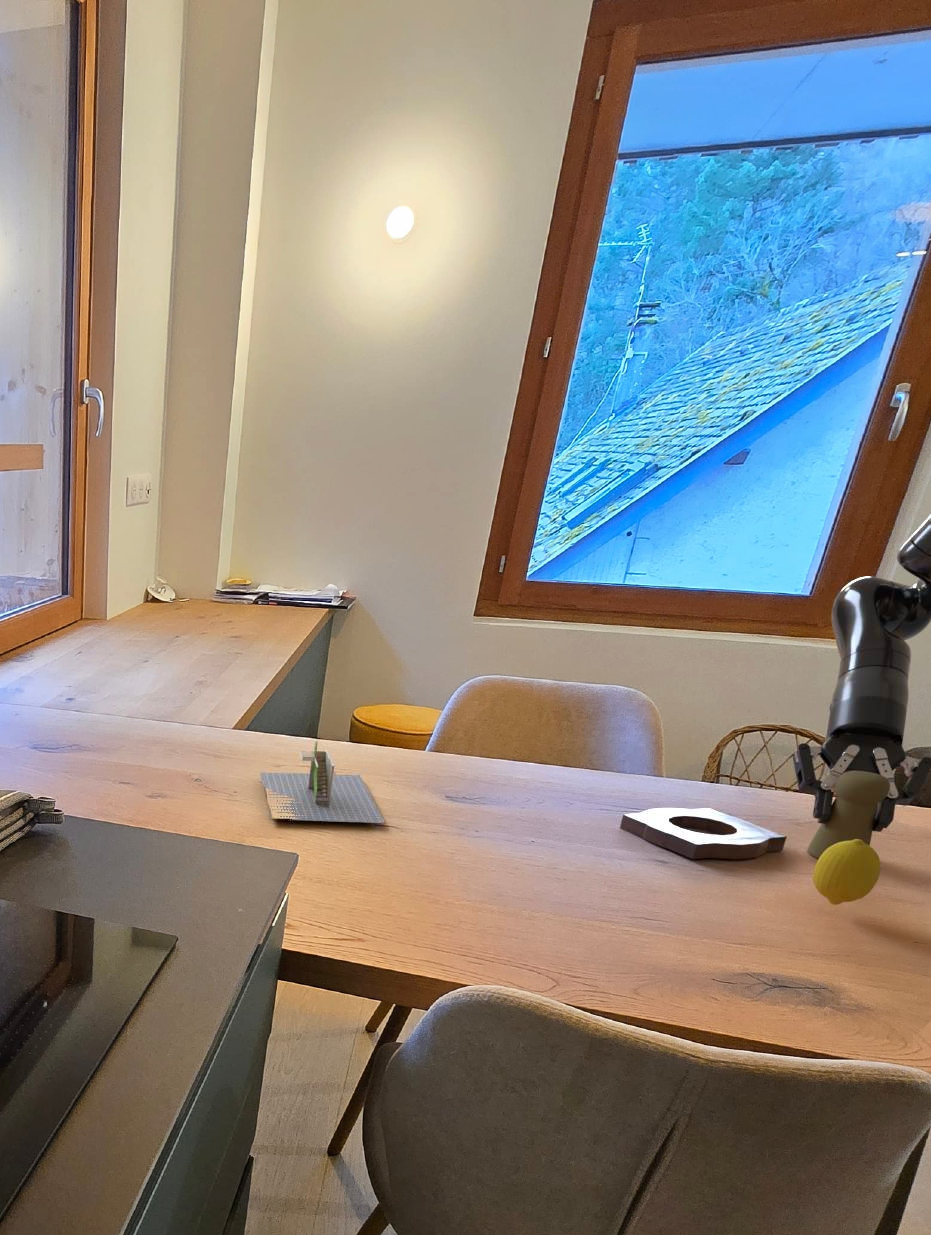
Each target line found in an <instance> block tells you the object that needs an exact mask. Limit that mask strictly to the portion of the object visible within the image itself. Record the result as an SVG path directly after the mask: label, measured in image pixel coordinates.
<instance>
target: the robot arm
mask: <svg viewBox="0 0 931 1235" xmlns="http://www.w3.org/2000/svg"><path fill="white" fill-rule="evenodd" d="M896 561H897V563H898V564H899V566H900V567H901V568H902V569H903V570H904V571H906V572H908V573H909V574H911V575H912V576H914V577H916V578H917V579H918V580H917V582H915V584H913V585H912V586H911V585H907V584H903V583H900V582H896V581H893V580H888V579H885V578H882V577H877V576H862V577H858V578H856V579H854V580H851V581H850V582H848V583H847V584H846V585H845V586H844V587H843V588H842V589H841V590H840V591H839V592H838V594H837V596H836V597H835V599H834V601H833V604H832V608H831V615H830V619H831V620H830V621H831V622H830V623H831V625H832V626H831V627H832V631H833V635H834V639H835V643H836V648H837V651H838V654H839V657H840V663H839V669H838V677H837V681H836V686H835V688H834V691H833V694H832V698H831V702H830V704H829V717H828V723H827V724H828V725H827V729H826V735H825V741H824V743H823V744H822V745H821V746H819V745H818V746H810V745H809V744H808V743H805V742H803V743H800V744H798V745H797V748H796V749H795V751H794V753H793V755H792V761H793V766H794V773H795V777H796V783H797V788H798V790H799V792H801V793H809V794H811V795H813V796H814V804H813V809H812V810H813V811H812V816H813V818H814V819H816V820H817V823H818V824H820V825H821V824H825V823H826V822H827V820H828V819H829V817H830V813H831V806H832V803H833V801H834V793H835V791H832V790H833V788H835V783H836V780H837V779H838V778H839V776H841V775H842V774H843V773H845V772H849V771H866V772H872V773H875V774H879V775H882V776H884V777H885V778H887V779H888V781H889V783H890V790H889V793H888V795H887V796H886V797H885V798H884V800H882V801H881V802H879V803H878V807H877V812H876V817H875V822H874V826H873V832H877V833H882V831H883V830H884V829H887V828H888V827H889V826H890V825H891V823H892V822H893V821H894V819H895V818H894V817H895V810H896V809H895V808H896V805H900V806H903V807H904V806H906V807H907V806H909V805H910V803H911V802H912V801H913V799H914V798H915V797H916V796H917V795H918V794H919V792H920V790H921V788H922V786H923V784H924V782H925V780H926V779H927V777H928V774H929V773H930V771H931V757H929V756H924V757H922V758H921V759H919V758H916V757H912V756H909V755H907V752H906V751H905V749H904V747H903V744H904V743H903V742H904V734H905V728H906V719H907V713H908V712H907V711H908V706H909V705H908V704H909V695H910V694H909V693H910V691H909V677H910V676H909V675H910V668H911V660H912V650H911V646H910V645H909V644H908V642H907V641H906V640H910V639H912V638H914V637H916V636H917V635H919V634H921V633H922V632H923V631H924V630H926V628H927V627H928V626H929V624H930V623H931V514H930V515H929V516H928V517H927V518H926V519H925V520H924V521H923V522H922V524H921V525H920V526H919V527H918V528H917V529H916V530H915V531H914V533H912V535H911V536H909V538H908V539H907V540H906V541H905V542H904V543H903V545H902V546H901V547H900V548H899V550H898V552H897V554H896ZM818 757H819V758H820V759H821V760H822V761H823V763H824V764H825V765H826V766H827V767H828V769H829V770H830V771H829V773H828V774H827V776H826V777H825V778H824V779H823V781H822V780H819V779H817V778H816V772H815V767H814V763H815V761H816V760H817V758H818ZM900 766H901V767H903V768H904V774H905V776H906V777H908V779H907V780H906V783H905V785H904V787H903V788H902V789H901V790H898V788H897V787H896V783H895V774H894V772H893V771H895V770H896V769H897V768H899V767H900Z"/></svg>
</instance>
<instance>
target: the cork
mask: <svg viewBox="0 0 931 1235" xmlns="http://www.w3.org/2000/svg"><path fill="white" fill-rule="evenodd" d="M889 790H890V783H889V781H888V779H887V778H885V777H884V776H882V775H879V774H875V773H872V772H866V771H849V772H845V773H843V774H842V775H841V776H839V778H838V779H837V780H836V783H835V786H834V793H835V795H836V796H835V798H834V799H833V801H832V806H831V813H830V817H829V819H828V820H827V822H826V823H825V824H821V823H820V825H819V827H818V829H817V831H816V832H815V833H814V835H813V837H812V839H811V841H810V843H809V845H808V847H807V849H806V851H807V853H808V854H810V855H811V856H813V857H815V858H816V859H819V858H820V856H821V855H822V854H823V852H824V851H825V850H826V849H827V848H829V847H830V846H832V845H834V844H836V843H839V842H843V841H852V840H854V839H860V840H862V841H863V842H864V843H865V844H867V845H869V846H870V847H871V841H872V837H873V832H874V831H873V826H874V822H875V817H876V812H877V807H878V803H879V802H881V801H882V800H884V798H885V797H886V796H887V795H888V793H889Z"/></svg>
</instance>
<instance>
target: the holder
mask: <svg viewBox="0 0 931 1235" xmlns="http://www.w3.org/2000/svg"><path fill="white" fill-rule="evenodd" d="M619 829H622V830H624V831H626V832H629V833H630V834H633V835H636V836H638V837H640V838H642V839H644V840H645V841H647V842H650V843H652V844H654V845H658V846H659V847H661V848H665V849H668V850H671V851H673V852H675V853H678V854H680V855H682V856H685V857H687V858H689V859H692V860H698V859H709V858H711V859H712V858H713V859H725V860H727V859H728V860H744V859H753V858H754V859H755V858H757V857H759V856H761V855H763V854H765V853H775V852H782V851H783V850H784V847H785V844H786V841H787V838H788V837H787V836H786V835H783V834H780V833H779V832H778V833H777V832H775V831H772V830H769V829H766V828H764V827H762V826H759V825H757V824H754V823H752V822H749V821H746V820H743V819H741V818H738V817H734V816H731V815H728V814H725V813H723V812H720V811H717V810H714V809H713V808H710V807H709V808H708V807H703V808H680V807H679V808H678V807H677V808H676V807H660V808H649V809H646V810H644V811H642V812H637V813H628V814H627V813H625V814H622V818H621V821H620V825H619ZM692 830H696V831H701V832H696V831H692ZM703 832H707V833H703ZM710 833H711V834H710Z"/></svg>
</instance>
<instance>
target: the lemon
mask: <svg viewBox="0 0 931 1235" xmlns="http://www.w3.org/2000/svg"><path fill="white" fill-rule="evenodd" d="M817 859H818V860H817V862H816V864H815V866H814V869H813V873H812V881H813V885H814V888H815V889H816V890H817V892H818V893H819V894H820V895H822V896H823V897H824V898H826V899H827V901H828V902H829V903H830V904H831V905H834V906H837V905H840V904H842V903H850V902H856V901H858V900H861V899H863V898H864V897H865V896H867V895H868V894H869V893H870V892H871V891H872V890H873V888H875V886H876V884H877V883H878V880H879V877H880V873H881V860H880V856H879V854H878V853H877V851H876V850H875V849H874V848H873V847H872V846H871V845H870V846H869V845H867V844H865V843H864V842H863V841H862V840H860V839H854V840H852V841H843V842H839V843H836V844H834V845H832V846H830V847H829V848H827V849H826V850H825V851H824V852H823V854H822V855H821V856H820V858H817Z"/></svg>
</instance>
